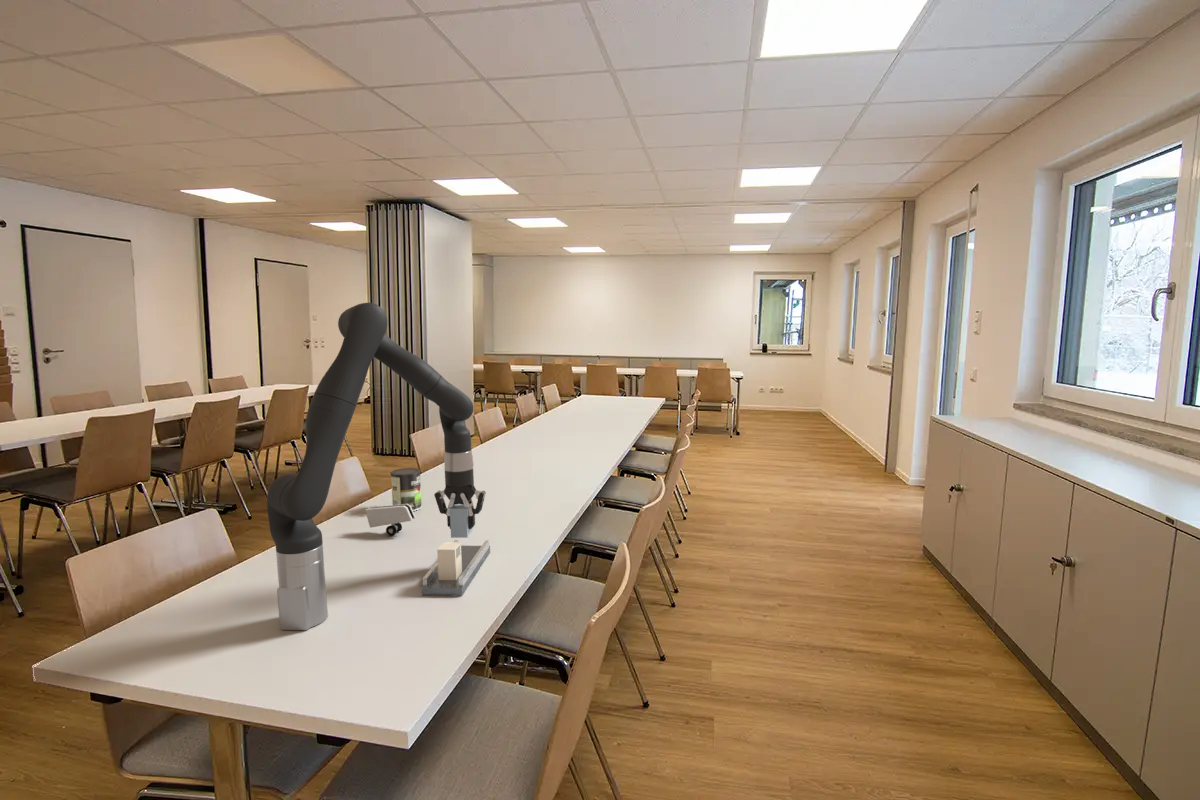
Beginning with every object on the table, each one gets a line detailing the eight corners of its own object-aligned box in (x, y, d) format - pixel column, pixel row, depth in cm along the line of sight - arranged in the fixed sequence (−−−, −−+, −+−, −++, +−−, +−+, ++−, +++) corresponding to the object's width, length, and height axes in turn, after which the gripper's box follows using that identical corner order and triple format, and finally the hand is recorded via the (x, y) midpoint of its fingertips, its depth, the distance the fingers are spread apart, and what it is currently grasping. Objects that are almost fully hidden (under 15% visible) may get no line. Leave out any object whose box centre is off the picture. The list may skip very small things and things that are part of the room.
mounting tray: (462, 596, 142) (461, 580, 141) (421, 595, 142) (421, 579, 142) (490, 552, 169) (489, 539, 169) (456, 552, 170) (456, 538, 169)
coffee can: (426, 505, 217) (425, 468, 215) (413, 513, 206) (411, 474, 205) (401, 504, 218) (399, 467, 216) (387, 512, 208) (384, 474, 206)
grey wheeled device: (371, 539, 185) (413, 532, 182) (364, 509, 184) (406, 502, 181) (378, 534, 189) (419, 528, 186) (371, 506, 188) (412, 498, 185)
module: (467, 537, 156) (466, 508, 155) (450, 537, 156) (449, 508, 155) (472, 531, 161) (471, 503, 160) (456, 531, 161) (455, 503, 160)
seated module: (456, 580, 146) (455, 549, 145) (438, 580, 146) (437, 549, 145) (462, 572, 151) (461, 542, 150) (444, 571, 151) (443, 542, 150)
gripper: (428, 470, 153) (431, 532, 155) (481, 470, 152) (483, 533, 154) (437, 463, 160) (440, 523, 163) (488, 463, 160) (490, 523, 162)
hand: (461, 527), depth 158 cm, fingers closed on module, 4 cm apart
